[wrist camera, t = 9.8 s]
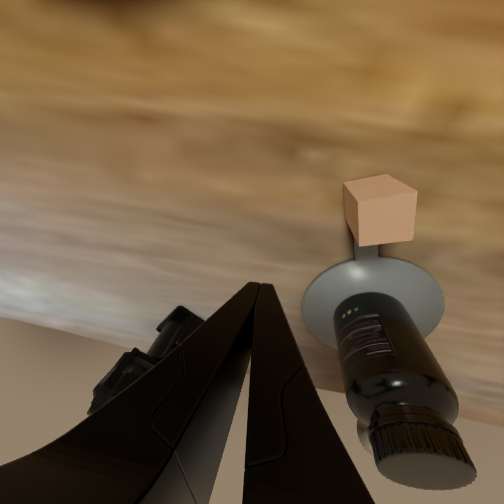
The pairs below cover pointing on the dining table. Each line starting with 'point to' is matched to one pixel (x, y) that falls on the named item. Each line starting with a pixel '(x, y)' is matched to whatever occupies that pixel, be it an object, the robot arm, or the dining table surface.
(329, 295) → the frying pan
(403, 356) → the supplement bottle
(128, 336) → the dining table surface
